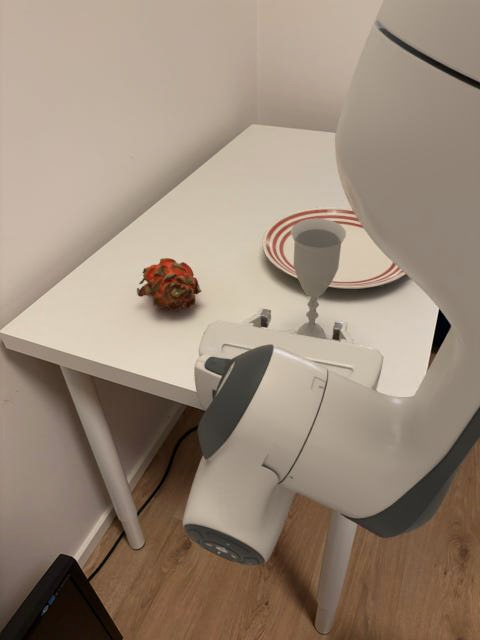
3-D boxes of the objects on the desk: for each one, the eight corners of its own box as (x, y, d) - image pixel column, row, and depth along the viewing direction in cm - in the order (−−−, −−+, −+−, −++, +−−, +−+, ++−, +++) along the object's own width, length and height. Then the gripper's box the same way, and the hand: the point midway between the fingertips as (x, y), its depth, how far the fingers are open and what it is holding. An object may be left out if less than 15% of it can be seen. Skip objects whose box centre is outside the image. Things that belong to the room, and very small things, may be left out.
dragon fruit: (194, 330, 77) (152, 307, 85) (222, 284, 77) (177, 265, 85) (159, 308, 70) (117, 285, 78) (189, 258, 71) (144, 240, 79)
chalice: (337, 357, 68) (350, 247, 57) (288, 358, 69) (292, 248, 57) (330, 324, 74) (341, 217, 63) (286, 324, 74) (289, 219, 63)
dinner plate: (423, 232, 94) (427, 217, 92) (403, 316, 75) (407, 299, 73) (288, 212, 103) (289, 198, 101) (239, 282, 84) (239, 266, 81)
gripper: (382, 402, 45) (393, 313, 55) (179, 361, 50) (224, 286, 60) (373, 444, 49) (385, 353, 59) (186, 401, 54) (227, 324, 64)
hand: (302, 319), depth 60 cm, fingers open, 8 cm apart
